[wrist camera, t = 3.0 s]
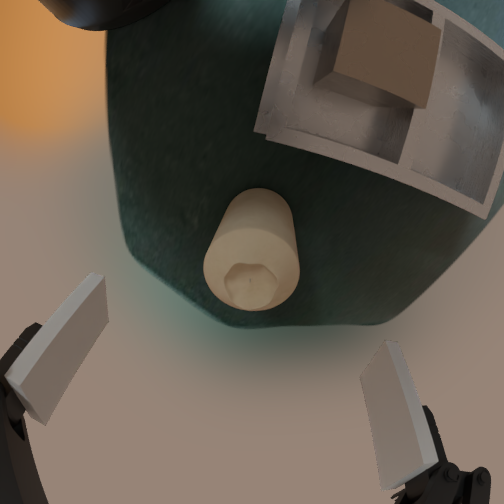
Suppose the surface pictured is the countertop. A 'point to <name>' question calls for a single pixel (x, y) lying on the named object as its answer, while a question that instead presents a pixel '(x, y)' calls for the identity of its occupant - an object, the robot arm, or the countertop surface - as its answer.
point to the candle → (254, 252)
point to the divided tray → (396, 119)
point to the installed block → (378, 55)
